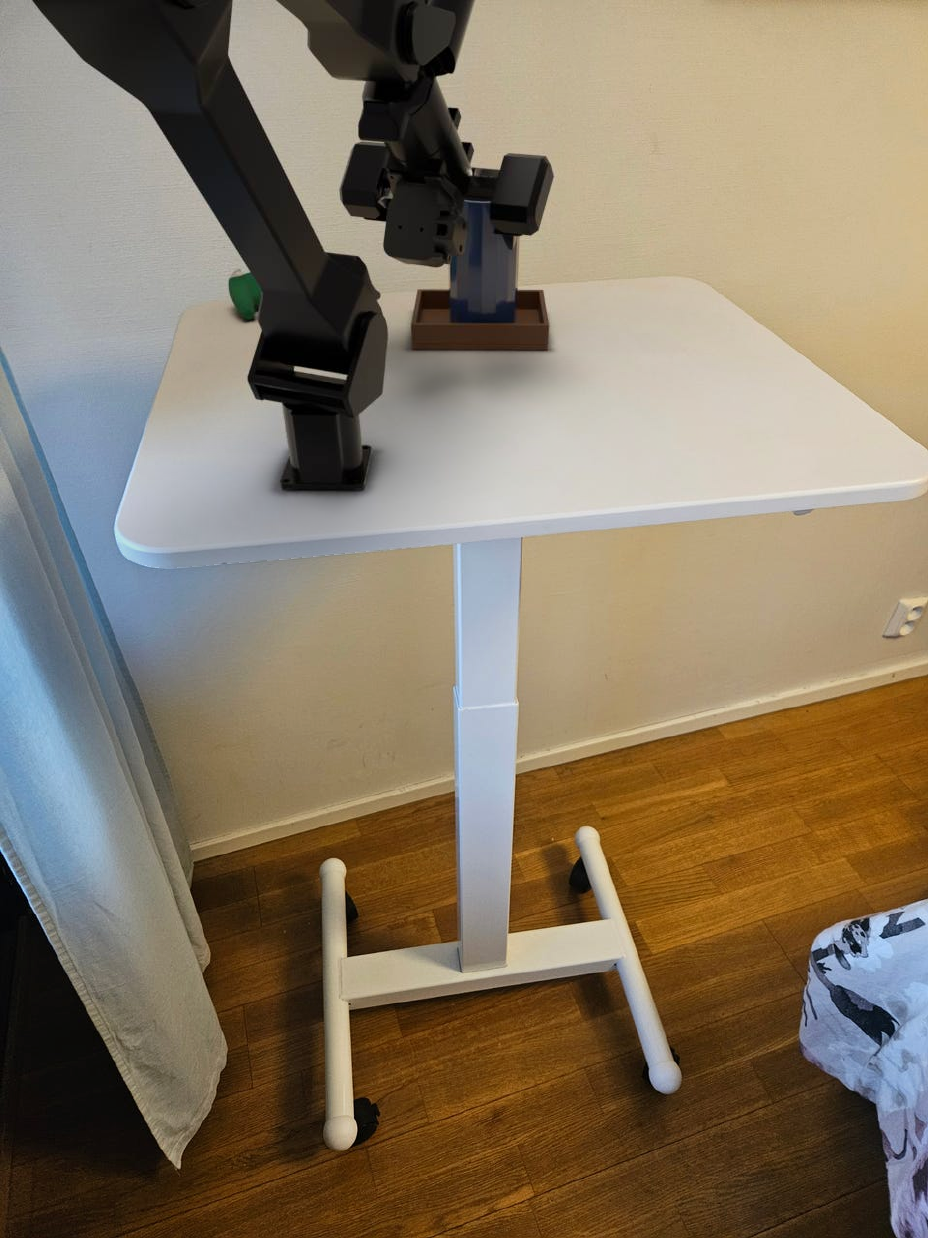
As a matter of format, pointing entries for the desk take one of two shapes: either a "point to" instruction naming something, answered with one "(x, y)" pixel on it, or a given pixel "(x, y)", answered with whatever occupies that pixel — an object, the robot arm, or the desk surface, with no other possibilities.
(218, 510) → the desk surface
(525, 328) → the tray
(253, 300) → the green rounded piece
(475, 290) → the cup
